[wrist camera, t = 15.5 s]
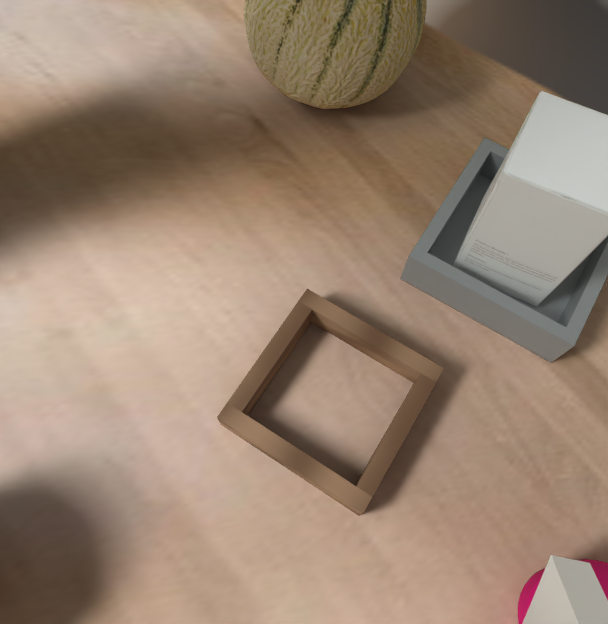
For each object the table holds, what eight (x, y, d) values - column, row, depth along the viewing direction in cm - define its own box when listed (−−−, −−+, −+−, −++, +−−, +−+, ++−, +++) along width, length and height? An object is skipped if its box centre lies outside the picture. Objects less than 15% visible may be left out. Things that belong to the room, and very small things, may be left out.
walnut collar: (221, 424, 40) (217, 417, 38) (306, 302, 44) (307, 288, 42) (358, 515, 38) (363, 513, 36) (435, 378, 42) (444, 368, 39)
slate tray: (400, 278, 45) (409, 256, 41) (470, 166, 49) (484, 137, 46) (551, 362, 42) (574, 346, 39) (611, 236, 47) (637, 211, 43)
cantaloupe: (218, 83, 52) (190, -83, 38) (323, 3, 57) (332, -173, 43) (336, 173, 49) (352, 25, 35) (439, 80, 53) (490, -85, 39)
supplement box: (565, 236, 46) (658, 130, 34) (536, 310, 43) (626, 222, 31) (480, 200, 47) (541, 85, 35) (447, 270, 44) (501, 171, 33)
